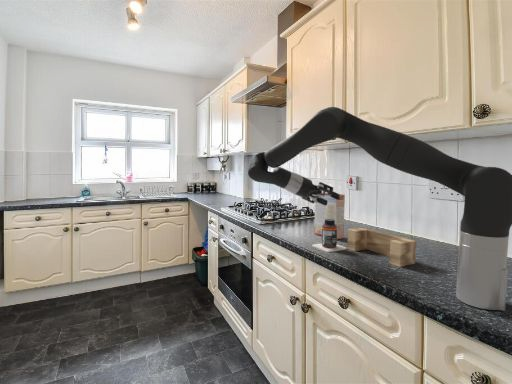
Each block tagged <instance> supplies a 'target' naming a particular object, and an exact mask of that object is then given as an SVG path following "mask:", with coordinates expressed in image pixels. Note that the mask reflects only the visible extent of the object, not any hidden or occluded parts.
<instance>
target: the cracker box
mask: <svg viewBox="0 0 512 384" xmlns="http://www.w3.org/2000/svg"><path fill="white" fill-rule="evenodd" d="M339 194H340V193H339ZM345 197H346V196H345V194H340V198H339V199H338V200H337V199H334V198H332V197H330V196H324V197H323V196H319V198H323V199H325V200H327V201H328V202H327V205H326V206H325V205H323V204H320V203H315V202H314V235H316V236H320V237H322V225H323V224H324V223H325V219H334V220H335V225H336V226H337V240H342V239H344V235H345V234H344V233H345V230H344V229H345V203H346V202H345Z"/></svg>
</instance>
